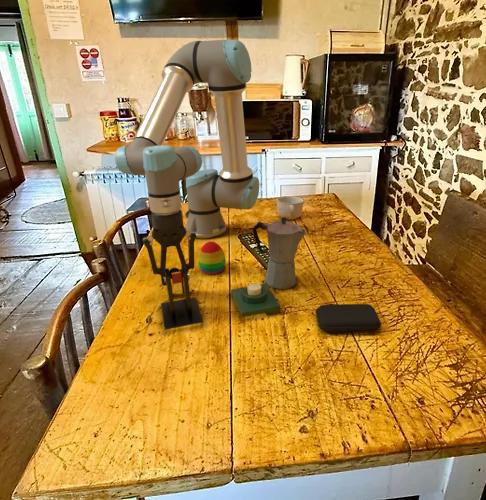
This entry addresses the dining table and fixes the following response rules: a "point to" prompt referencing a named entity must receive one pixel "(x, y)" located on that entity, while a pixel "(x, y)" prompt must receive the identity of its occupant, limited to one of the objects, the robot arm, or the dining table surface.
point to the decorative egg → (211, 258)
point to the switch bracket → (180, 305)
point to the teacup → (289, 207)
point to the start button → (254, 289)
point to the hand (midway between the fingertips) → (176, 293)
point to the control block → (255, 301)
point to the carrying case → (347, 318)
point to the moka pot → (280, 251)
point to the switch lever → (175, 275)
